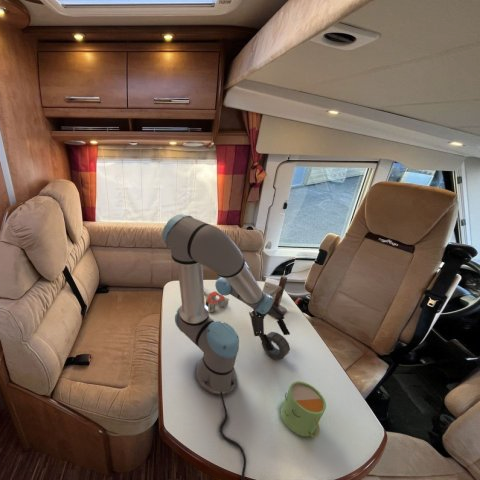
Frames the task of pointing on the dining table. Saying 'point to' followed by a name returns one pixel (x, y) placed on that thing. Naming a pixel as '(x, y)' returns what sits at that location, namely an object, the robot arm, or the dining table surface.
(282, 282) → the tape stand
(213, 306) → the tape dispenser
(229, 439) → the robot arm
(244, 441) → the dining table surface
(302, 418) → the mug
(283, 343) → the tape roll
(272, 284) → the small box
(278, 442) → the dining table surface
